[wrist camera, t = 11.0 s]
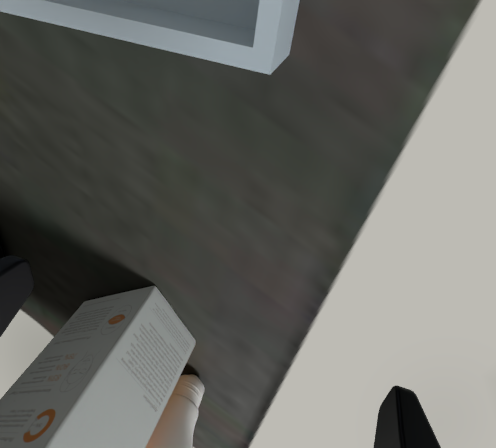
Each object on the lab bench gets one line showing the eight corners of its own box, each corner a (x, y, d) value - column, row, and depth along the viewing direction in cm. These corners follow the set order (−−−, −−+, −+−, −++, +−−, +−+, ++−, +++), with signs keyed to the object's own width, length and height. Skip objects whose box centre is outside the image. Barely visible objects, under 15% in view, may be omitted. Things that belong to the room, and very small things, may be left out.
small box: (127, 351, 35) (18, 517, 25) (83, 299, 33) (-57, 459, 23) (200, 342, 32) (107, 533, 21) (156, 282, 29) (28, 466, 19)
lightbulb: (148, 362, 35) (69, 497, 27) (193, 345, 32) (119, 493, 23) (194, 404, 37) (134, 544, 28) (242, 392, 34) (189, 546, 25)
